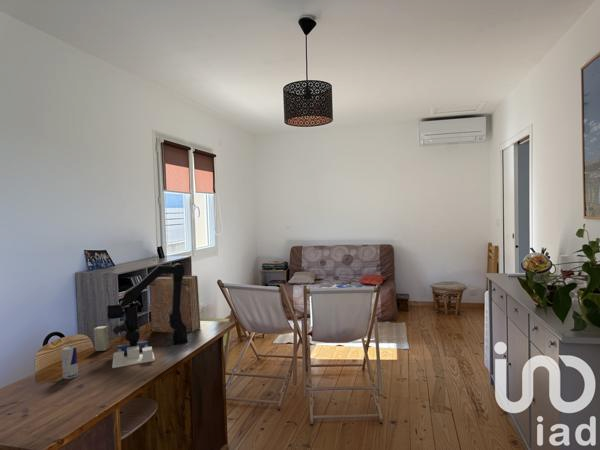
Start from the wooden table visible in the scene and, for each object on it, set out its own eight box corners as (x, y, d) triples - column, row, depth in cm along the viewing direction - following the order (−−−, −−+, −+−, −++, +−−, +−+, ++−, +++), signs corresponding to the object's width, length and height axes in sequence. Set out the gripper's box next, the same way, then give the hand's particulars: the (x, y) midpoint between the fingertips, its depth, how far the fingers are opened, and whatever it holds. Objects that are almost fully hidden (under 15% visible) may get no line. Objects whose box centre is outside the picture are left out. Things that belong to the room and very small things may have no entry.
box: (110, 347, 204) (108, 325, 204) (105, 350, 200) (103, 328, 200) (100, 348, 205) (98, 326, 204) (94, 351, 200) (93, 328, 200)
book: (200, 328, 231) (197, 275, 230) (192, 333, 222) (188, 278, 221) (161, 327, 238) (158, 276, 237) (151, 332, 229) (148, 278, 228)
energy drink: (81, 374, 170) (79, 345, 169) (70, 379, 165) (68, 350, 164) (71, 373, 171) (69, 345, 171) (60, 378, 166) (58, 349, 166)
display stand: (113, 360, 184) (112, 349, 184) (153, 354, 191) (152, 343, 191) (112, 368, 175) (111, 356, 175) (154, 360, 182) (153, 349, 181)
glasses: (118, 352, 196) (118, 345, 196) (147, 347, 201) (147, 340, 201) (118, 358, 187) (117, 351, 187) (148, 353, 192) (148, 346, 192)
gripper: (113, 314, 203) (115, 346, 203) (112, 323, 185) (114, 357, 186) (137, 311, 207) (139, 342, 207) (138, 319, 190) (140, 353, 190)
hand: (133, 348), depth 197 cm, fingers open, 8 cm apart
